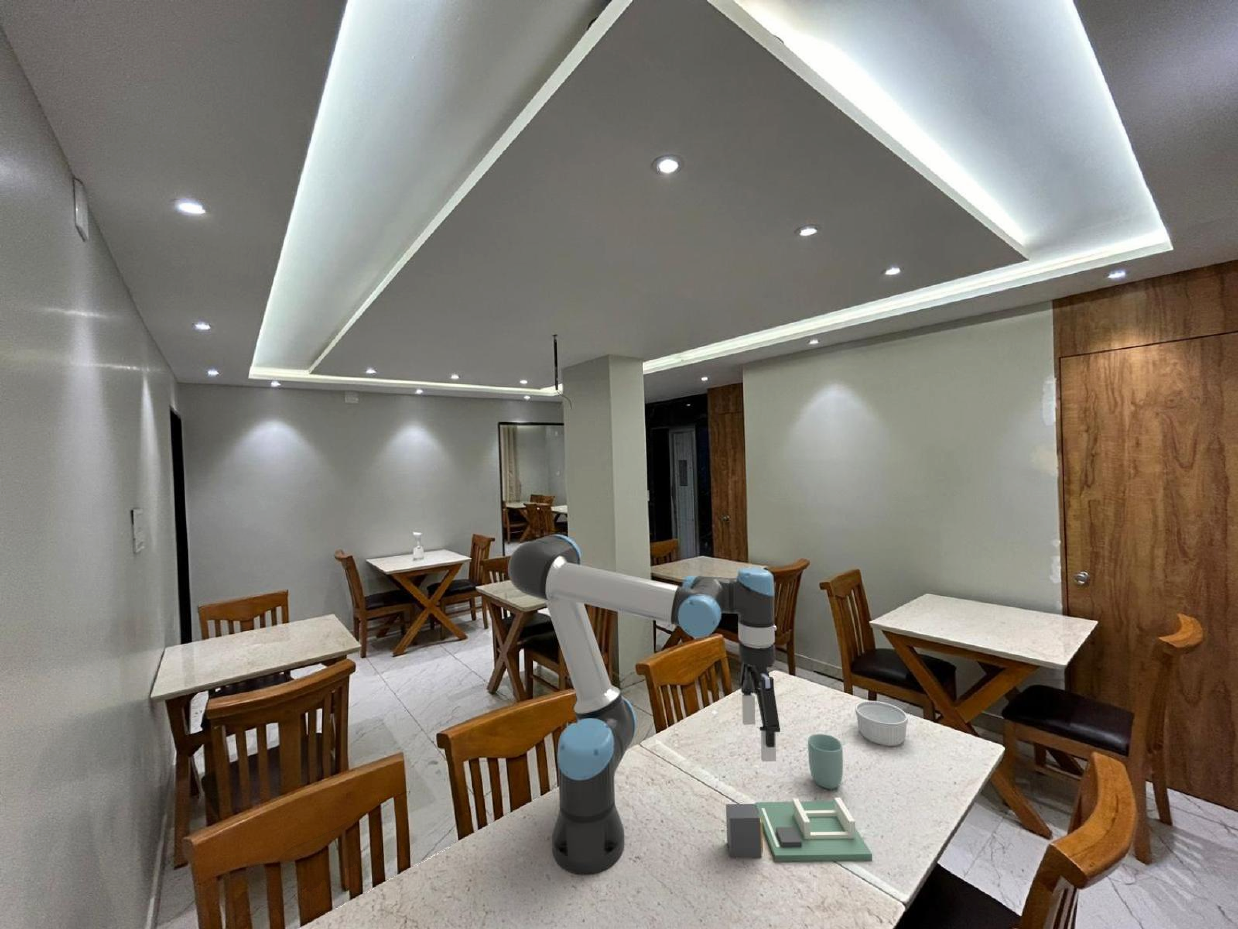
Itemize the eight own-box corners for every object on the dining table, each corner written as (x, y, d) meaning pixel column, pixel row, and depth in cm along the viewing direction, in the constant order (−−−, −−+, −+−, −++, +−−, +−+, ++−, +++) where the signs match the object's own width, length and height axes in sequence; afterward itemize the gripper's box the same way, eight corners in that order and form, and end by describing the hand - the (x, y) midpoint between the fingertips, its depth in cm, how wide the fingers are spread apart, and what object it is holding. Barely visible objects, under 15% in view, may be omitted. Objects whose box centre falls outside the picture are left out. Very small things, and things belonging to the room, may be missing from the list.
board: (775, 861, 94) (774, 837, 94) (755, 807, 109) (754, 787, 109) (872, 860, 94) (871, 836, 94) (838, 806, 109) (837, 785, 109)
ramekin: (860, 719, 146) (859, 696, 146) (910, 731, 138) (909, 707, 138) (852, 739, 135) (851, 715, 135) (906, 755, 127) (905, 729, 127)
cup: (847, 795, 112) (846, 753, 112) (812, 792, 114) (811, 750, 114) (839, 774, 120) (837, 734, 120) (806, 771, 122) (805, 732, 122)
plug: (731, 858, 96) (730, 818, 96) (727, 842, 100) (725, 804, 100) (764, 858, 95) (763, 817, 95) (758, 842, 99) (757, 803, 99)
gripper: (796, 666, 90) (798, 778, 90) (756, 622, 115) (757, 710, 115) (757, 667, 90) (759, 779, 90) (725, 623, 115) (726, 711, 115)
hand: (758, 741), depth 103 cm, fingers open, 13 cm apart
